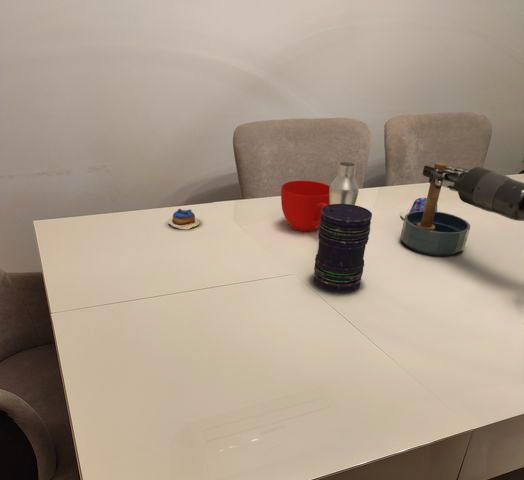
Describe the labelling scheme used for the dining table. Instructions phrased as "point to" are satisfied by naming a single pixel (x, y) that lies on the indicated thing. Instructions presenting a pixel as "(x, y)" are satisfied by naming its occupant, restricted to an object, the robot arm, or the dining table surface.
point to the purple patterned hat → (416, 206)
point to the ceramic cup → (304, 203)
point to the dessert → (184, 219)
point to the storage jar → (341, 247)
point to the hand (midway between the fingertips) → (429, 169)
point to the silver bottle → (344, 185)
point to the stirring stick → (431, 203)
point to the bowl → (435, 234)
